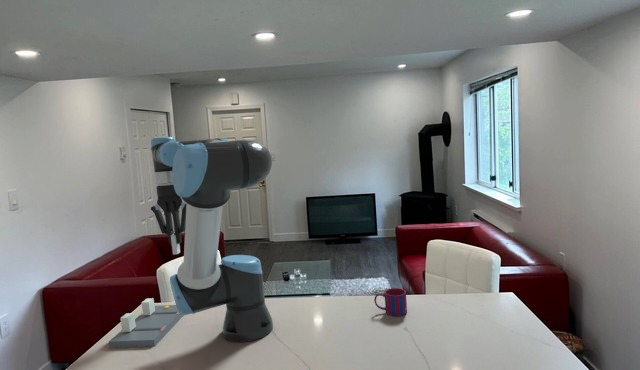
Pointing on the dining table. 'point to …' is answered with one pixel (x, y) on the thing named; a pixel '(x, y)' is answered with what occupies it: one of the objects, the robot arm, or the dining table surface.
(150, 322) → the breaker panel
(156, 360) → the dining table surface
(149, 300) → the block
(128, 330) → the block
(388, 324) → the dining table surface
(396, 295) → the mug
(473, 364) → the dining table surface
